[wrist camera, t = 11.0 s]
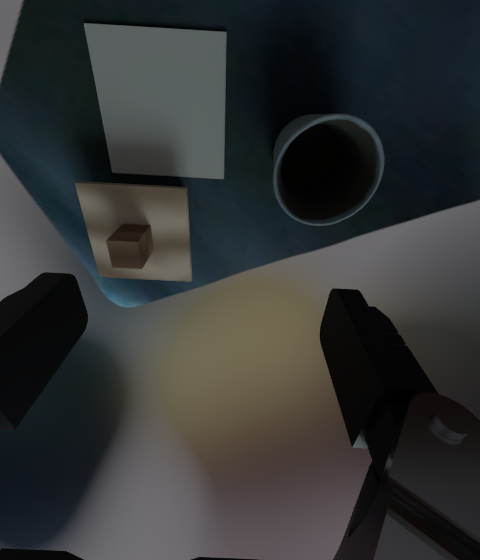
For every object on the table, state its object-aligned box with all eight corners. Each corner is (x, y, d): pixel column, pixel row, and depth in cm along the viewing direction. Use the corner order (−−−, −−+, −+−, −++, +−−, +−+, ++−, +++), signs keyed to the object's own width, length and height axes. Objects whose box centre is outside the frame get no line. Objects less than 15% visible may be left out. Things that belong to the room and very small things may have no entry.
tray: (85, 23, 29) (83, 23, 29) (226, 32, 30) (226, 31, 29) (113, 172, 38) (112, 172, 37) (223, 178, 38) (223, 179, 37)
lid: (78, 181, 33) (48, 195, 28) (187, 187, 33) (177, 202, 28) (102, 273, 40) (82, 297, 35) (192, 278, 40) (184, 303, 35)
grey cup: (359, 123, 34) (407, 133, 24) (325, 202, 39) (351, 237, 29) (281, 97, 33) (296, 96, 23) (256, 183, 38) (259, 212, 28)
